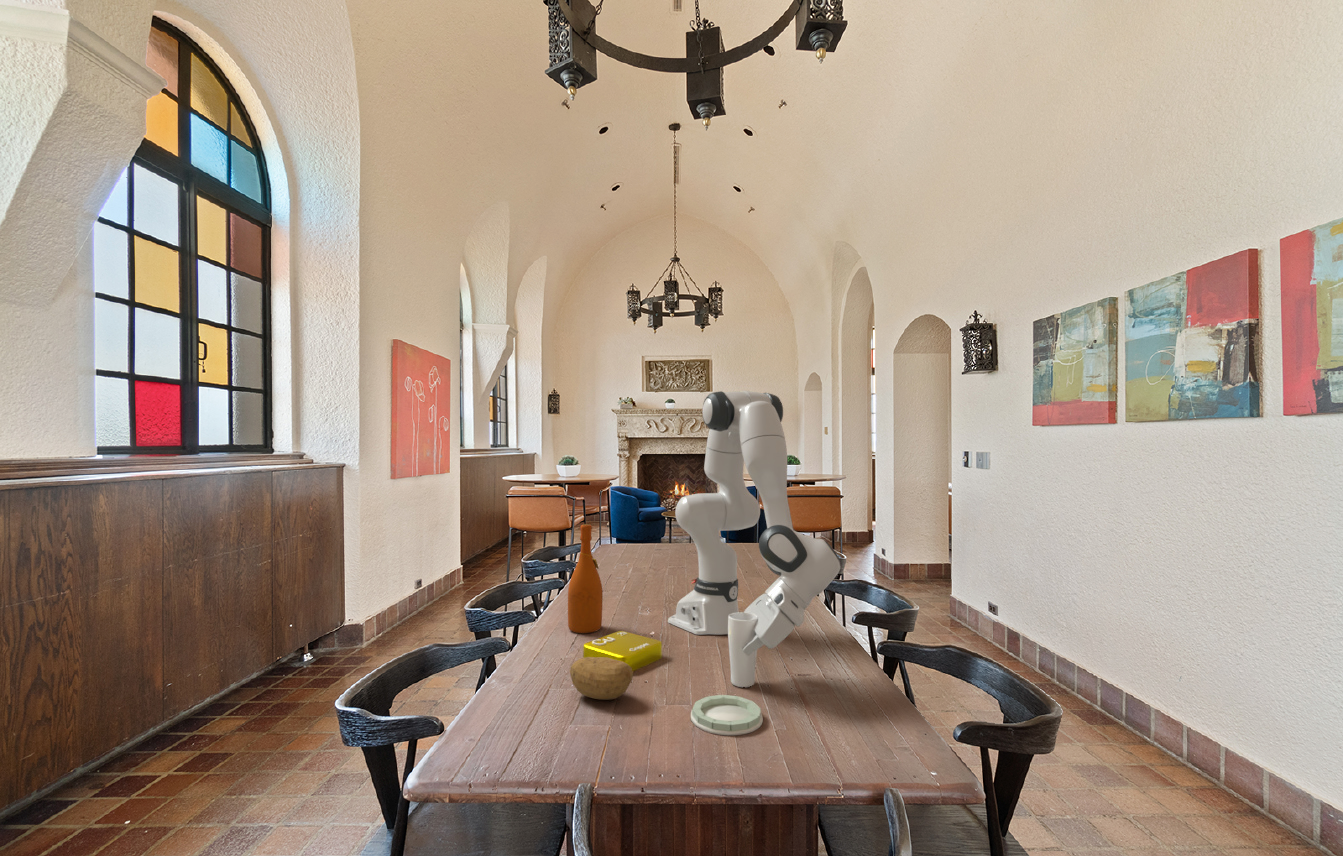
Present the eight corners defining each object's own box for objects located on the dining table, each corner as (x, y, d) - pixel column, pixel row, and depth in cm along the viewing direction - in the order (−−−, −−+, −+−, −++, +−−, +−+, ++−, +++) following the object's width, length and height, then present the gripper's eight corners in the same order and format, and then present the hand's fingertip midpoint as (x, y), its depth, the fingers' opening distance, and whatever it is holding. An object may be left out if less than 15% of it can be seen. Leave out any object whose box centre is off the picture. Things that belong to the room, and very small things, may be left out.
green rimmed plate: (675, 718, 119) (675, 709, 119) (720, 697, 129) (720, 688, 129) (733, 743, 109) (733, 733, 109) (776, 718, 119) (776, 708, 120)
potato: (584, 683, 136) (584, 647, 136) (640, 695, 130) (640, 657, 130) (558, 700, 127) (559, 661, 127) (617, 713, 121) (618, 672, 121)
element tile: (625, 676, 141) (625, 655, 141) (579, 662, 150) (579, 642, 150) (665, 658, 153) (665, 639, 153) (620, 646, 162) (620, 627, 162)
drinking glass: (757, 691, 132) (757, 621, 133) (725, 688, 134) (726, 619, 134) (758, 679, 139) (759, 612, 139) (729, 676, 140) (729, 611, 141)
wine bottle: (599, 634, 170) (601, 526, 170) (564, 634, 170) (565, 526, 171) (604, 624, 180) (605, 522, 180) (570, 623, 180) (572, 521, 180)
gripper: (764, 580, 148) (723, 621, 147) (785, 602, 127) (738, 650, 126) (782, 599, 148) (742, 640, 147) (806, 624, 127) (759, 672, 127)
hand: (740, 645), depth 136 cm, fingers open, 8 cm apart
